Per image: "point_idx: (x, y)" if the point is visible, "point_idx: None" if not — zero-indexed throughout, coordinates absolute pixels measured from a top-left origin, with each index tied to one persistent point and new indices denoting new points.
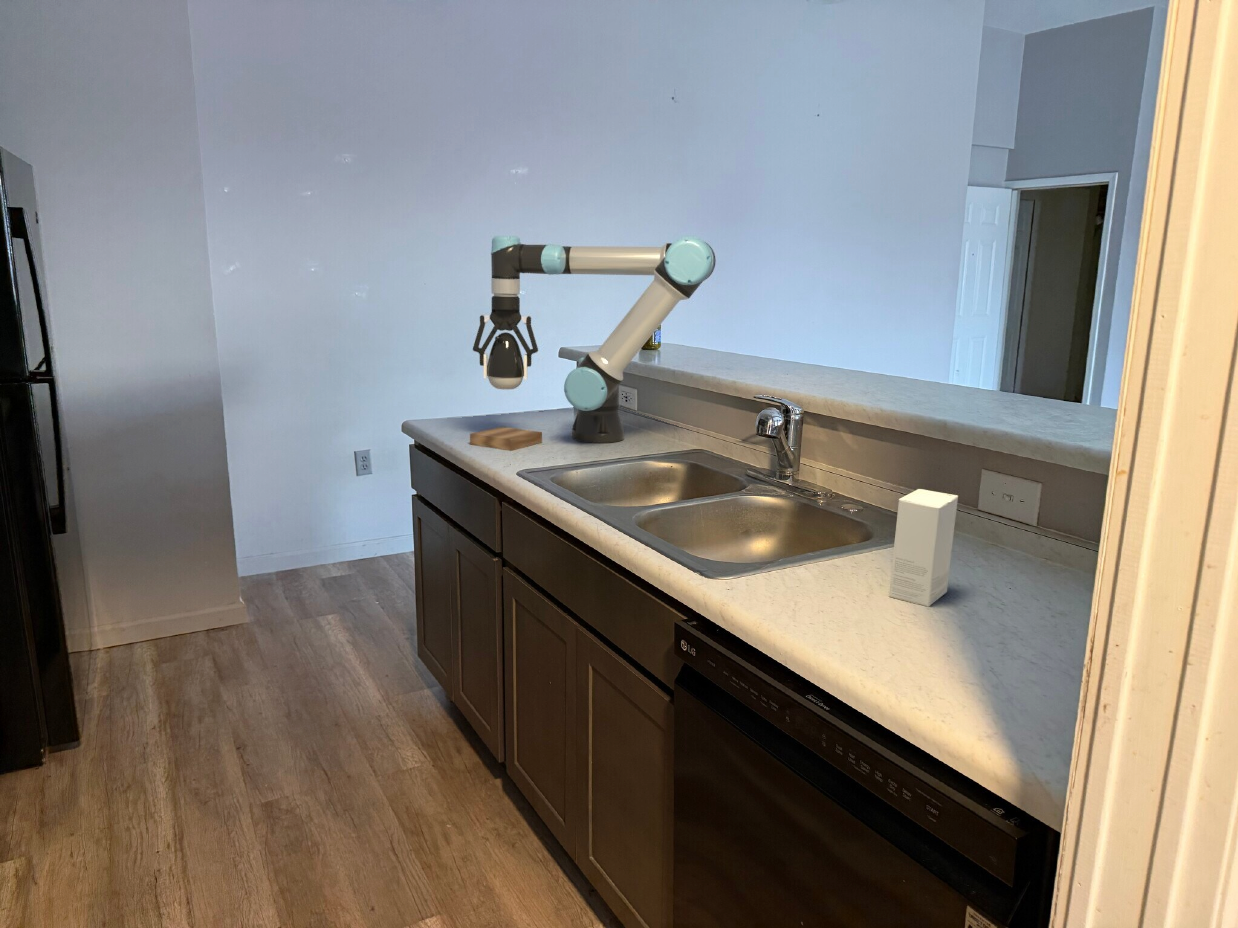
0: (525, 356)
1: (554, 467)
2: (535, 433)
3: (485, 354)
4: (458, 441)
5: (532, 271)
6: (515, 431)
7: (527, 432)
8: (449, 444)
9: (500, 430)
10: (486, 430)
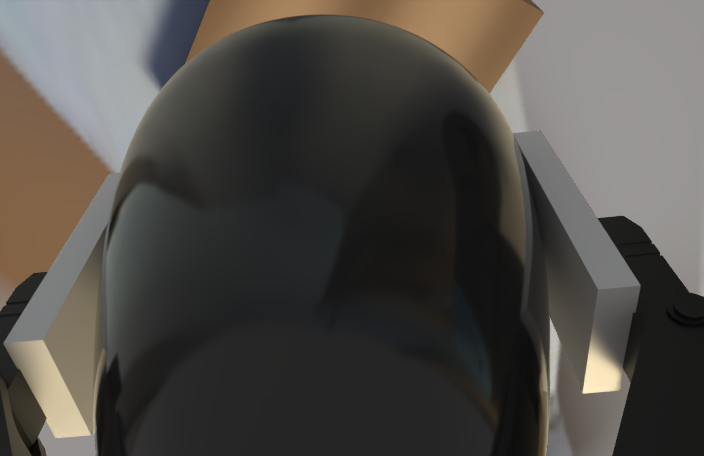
0: (595, 380)
1: (554, 407)
2: (505, 66)
3: (78, 434)
4: (79, 32)
5: None
6: (387, 22)
7: (458, 41)
8: (73, 116)
9: (293, 3)
10: (212, 18)
